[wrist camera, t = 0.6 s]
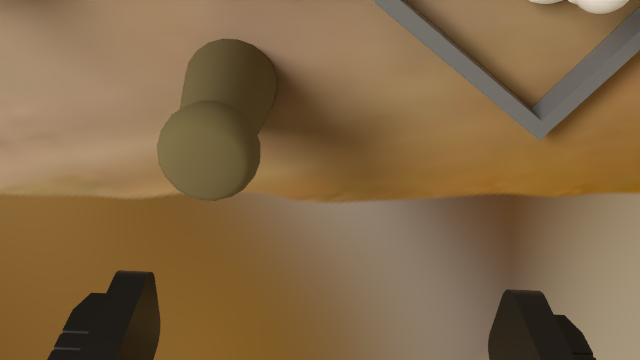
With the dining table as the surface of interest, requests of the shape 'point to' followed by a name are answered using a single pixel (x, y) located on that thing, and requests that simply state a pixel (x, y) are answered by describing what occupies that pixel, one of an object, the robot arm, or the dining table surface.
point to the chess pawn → (592, 5)
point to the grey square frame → (538, 119)
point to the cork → (218, 121)
